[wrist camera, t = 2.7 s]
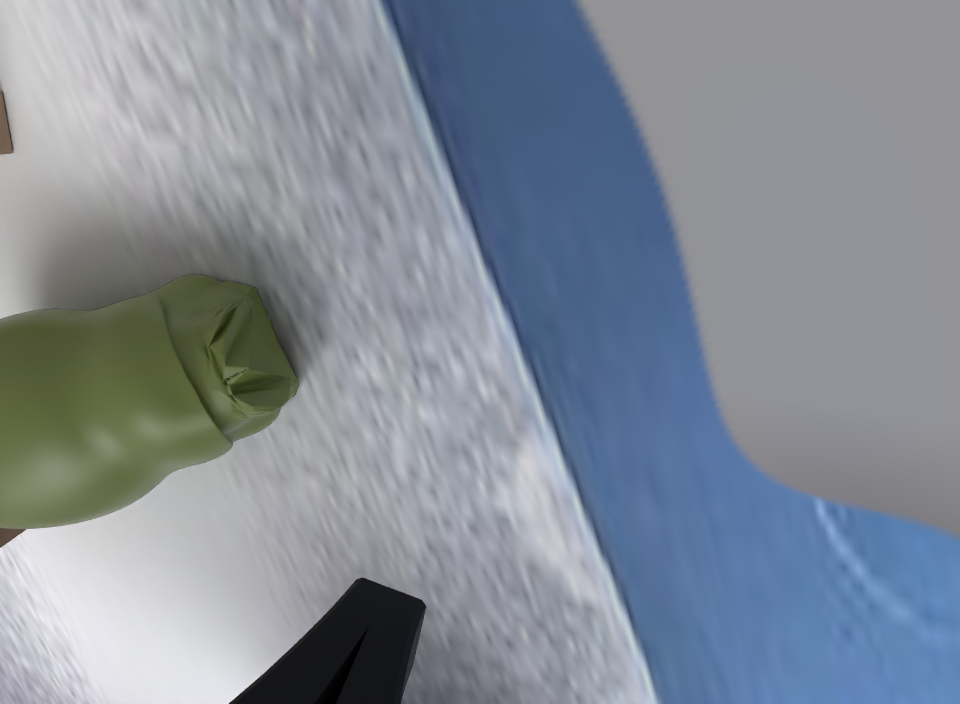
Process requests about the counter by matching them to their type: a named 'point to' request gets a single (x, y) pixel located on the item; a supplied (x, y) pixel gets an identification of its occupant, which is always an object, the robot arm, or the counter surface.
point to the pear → (130, 396)
